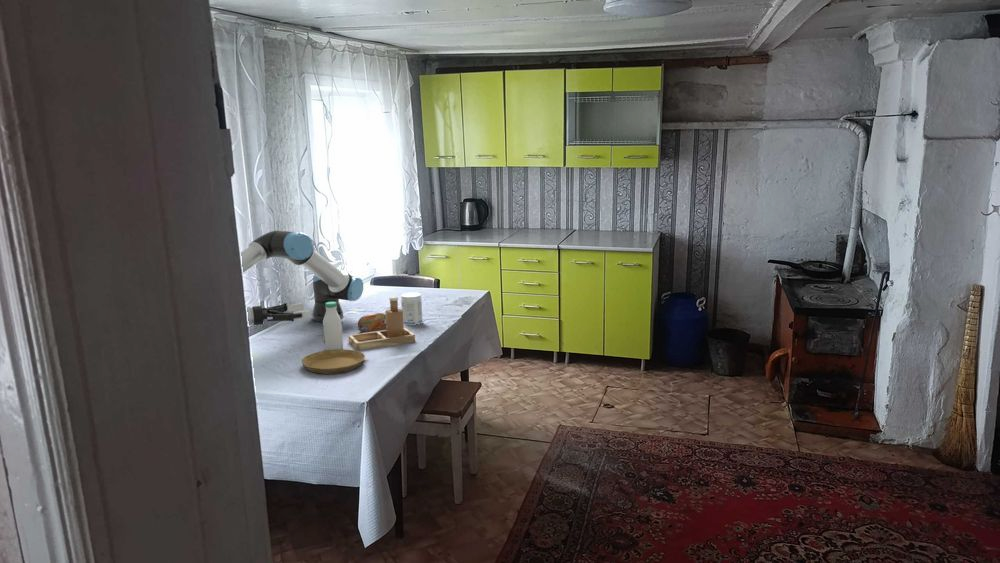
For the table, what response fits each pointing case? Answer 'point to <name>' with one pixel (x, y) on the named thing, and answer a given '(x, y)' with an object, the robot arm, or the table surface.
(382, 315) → the tin
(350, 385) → the table surface
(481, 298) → the table surface
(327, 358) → the plant saucer
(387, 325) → the brown bottle
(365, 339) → the divided wooden tray
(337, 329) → the milk bottle
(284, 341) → the table surface
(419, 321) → the supplement tub
